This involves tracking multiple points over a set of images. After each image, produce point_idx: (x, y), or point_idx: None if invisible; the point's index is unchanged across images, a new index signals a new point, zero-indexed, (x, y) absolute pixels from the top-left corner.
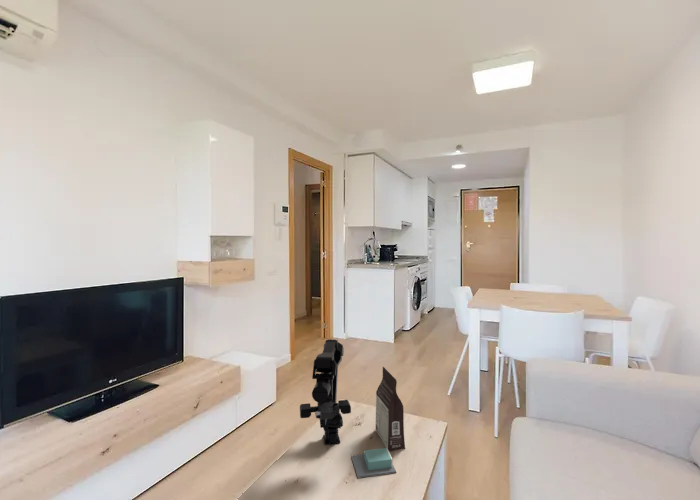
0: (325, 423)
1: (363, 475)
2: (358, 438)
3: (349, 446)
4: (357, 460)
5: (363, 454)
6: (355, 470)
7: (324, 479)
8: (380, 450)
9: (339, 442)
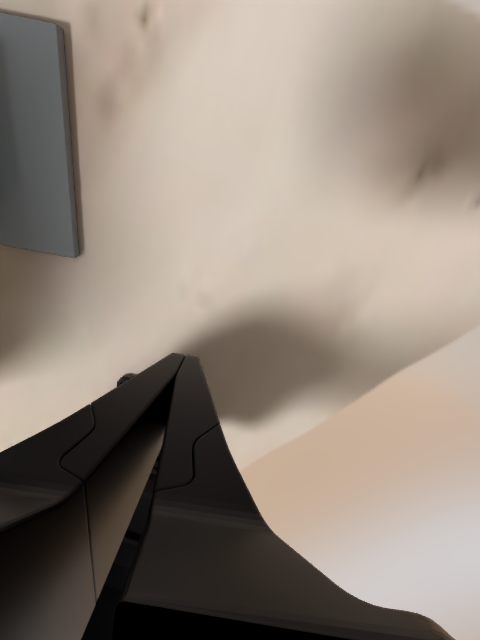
0: (157, 444)
1: (13, 17)
2: (28, 378)
3: (78, 340)
4: (42, 202)
5: (3, 242)
6: (68, 120)
7: (273, 112)
8: None
9: (121, 379)
